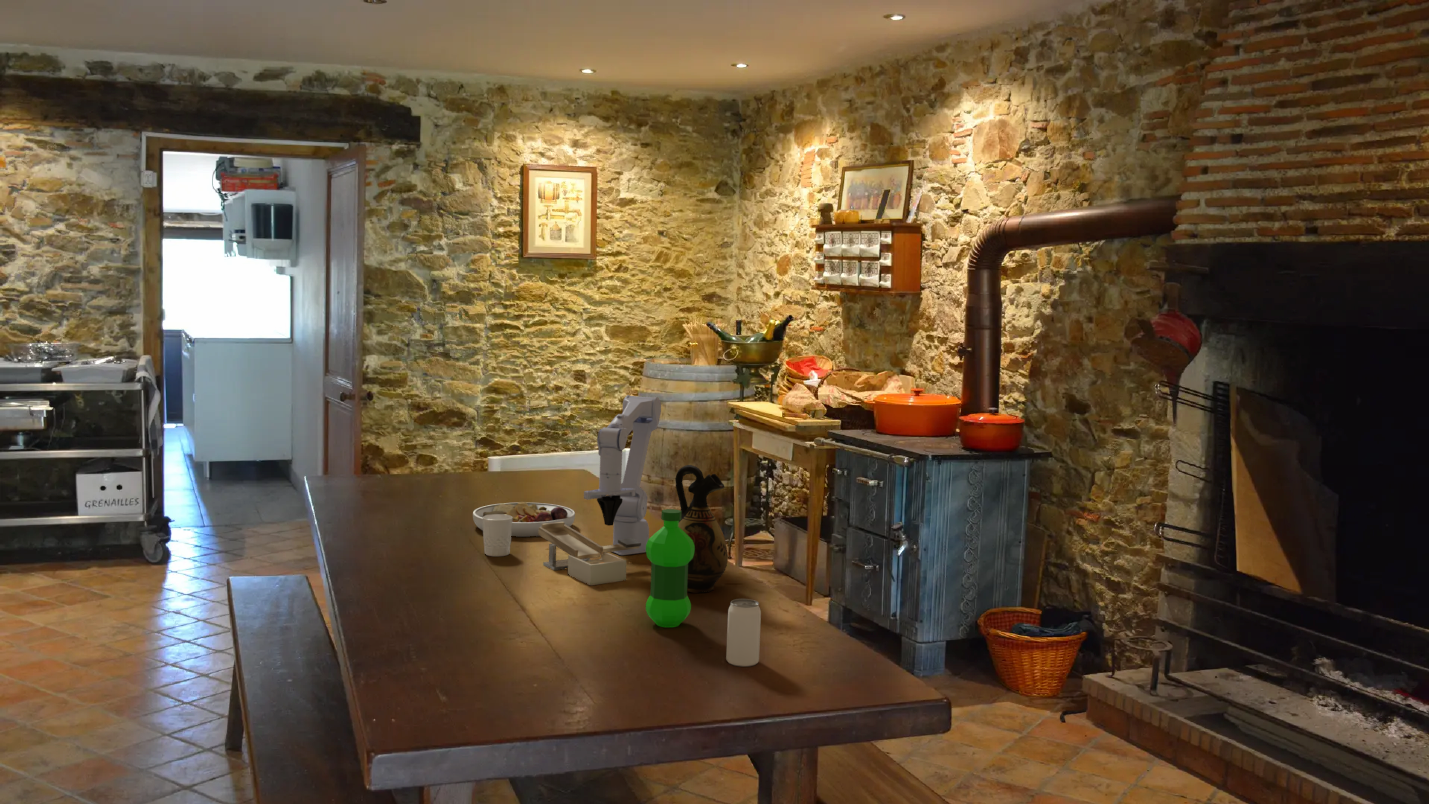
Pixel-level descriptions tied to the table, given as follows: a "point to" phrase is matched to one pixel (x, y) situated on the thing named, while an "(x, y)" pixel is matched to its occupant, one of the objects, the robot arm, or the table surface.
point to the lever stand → (559, 563)
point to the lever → (580, 541)
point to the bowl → (526, 516)
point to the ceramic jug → (702, 531)
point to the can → (743, 633)
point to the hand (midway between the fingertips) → (608, 524)
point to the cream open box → (598, 569)
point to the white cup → (497, 534)
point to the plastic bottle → (669, 571)
